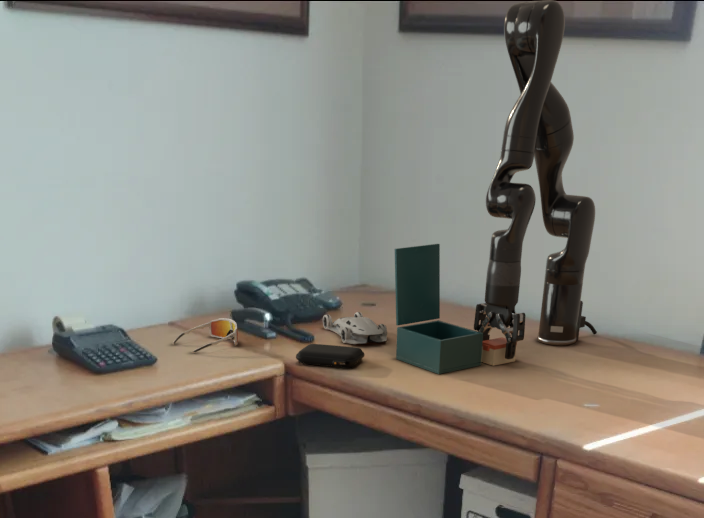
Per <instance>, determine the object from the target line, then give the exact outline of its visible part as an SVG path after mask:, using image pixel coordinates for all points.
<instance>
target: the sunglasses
mask: <svg viewBox="0 0 704 518" xmlns="http://www.w3.org/2000/svg"><path fill="white" fill-rule="evenodd" d="M205 328H208V330H209V335H210V337H212V338H217V339H218V340H215V341H211V342H208V343H206V344H204V345H201V346H199V347H197V348H195V349H194V350H192V351H191V353H192V354H195V353H198V352H200V351H202V350H204V349H206V348H208V347H211V346H216V345H219V344H220V343H222V342H224V341H226V340H227V341H228V340H233V342H234V346H238V341H239V332H238V331H239V330H238V324H237V322H236V321H235V320H234V319H231V318H228V317H227V318H226V317H221V318H220V317H219V318H217V319H213V320H209V321H208V322H206V323H203V324H200V325H197V326H195V327H193V328H189V329H187V330H185V331H183V332H181V333H180V334H179V335H178V336H176V338H175V339H174V340H173V341H172V345H175V344H176V343H177V342H178V341H179V339H181V338H182V337H183V336H185V335H189V334H190V333H192V332H193V331H196V330H203V329H205Z"/></svg>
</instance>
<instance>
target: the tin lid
mask: <svg viewBox="0 0 704 518" xmlns="http://www.w3.org/2000/svg"><path fill="white" fill-rule="evenodd" d="M440 246H441V244H440V243H432V244H424V245H423V244H422V245H414V246H407V247H398V248H394V280H395V281H394V283H395V285H394V286H395V287H394V288H395V325H396V326H405V325H411V324H417V323H423V322H429V321H435V320H439V319H440V318H441V307H440V306H441V301H440V300H441V295H440V294H441V293H440V292H441V289H440V287H441V283H440V281H441V280H440V275H441V271H440V269H441V268H440V267H441V266H440V265H441V261H440V260H441V258H440V253H441V251H440V249H441V247H440Z"/></svg>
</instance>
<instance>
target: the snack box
mask: <svg viewBox="0 0 704 518" xmlns="http://www.w3.org/2000/svg"><path fill="white" fill-rule="evenodd" d="M506 343H507V340H506V337H497V338H491V339H490V338H489V340H485V341H483V344H482V357H481V363H484V364H485V365H486V364H487V365H490V366H493V367H494V366H499V365H503V364H508V363H512V362H516V357H517V356H516V355H517V349H516V350H515V356H514V358H513V359H505V350H506ZM517 345H518V342H517V343H516V348H517V347H518V346H517Z"/></svg>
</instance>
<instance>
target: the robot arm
mask: <svg viewBox="0 0 704 518" xmlns="http://www.w3.org/2000/svg"><path fill="white" fill-rule="evenodd" d="M565 28H566V16H565V11H564V8H563V6H562V5H561V3H560V2H558V1H557V0H532V1H521V2H516V3H514V4H512V5H511V6H510V7H509V8H508V10H507V11H506V14H505V17H504V22H503V37H504V42H505V46H506V47H505V48H506V50H507V55H508V56H509V57H508V58H509V60H510V64H511V67H512V70H513V73H514V77H515V79H516V83H517V87H518V90H519V94H520V95H519V97H518V98H517V99H516V101H515V102H514V105H513V107H512V108H511V110H510V112H509V114H508V116H507V118H506V121H505V125H504V130H503V135H502V142H501V147H500V148H501V151H500V156H499V160H498V163H497V165H496V168H495V170H494V174H493V176H492V178H491V181H490V183H489V186H488V187H487V191H486V195H485V207H486V210H487V213H488V215H489V216H491V217H493V218H498V219H507V220H511V221H510V222H511V223H510V225H509V226H508V228H505V229H498V230H495V231H494V232H493V233H492V234H491V236H490V243H489V255H488V256H489V257H488V264H487V269H486V277H485V278H486V279H485V288H484V289H485V290H484V302H482V303H477V304H476V305H475V313H474V321H473V330H474V331H477V332H481V333H483V341H485V340H490V338H491V337H490V336H491V335H490V332H492V329H494V328H496V329H497V330H501V333H502V334H503V335H504V338H506V340H507V343H506V350H505V359H513V358H514V356H515V350H516V351H517V347H516V346H517V345H516V343H517V344H518V342H521V341H524V339H525V330H526V329H525V328H526V313H525V312H517V311H516V305H517V304H518V303H519V296H520V287H521V286H520V285H521V275H522V255H523V245H524V240H525V235H526V233H527V230H528V226H529V224H530V221H531V218H532V216H533V212H534V210H535V207H536V200H537V199H536V193H535V190H534V187H532V185H531V184H528V183H523V182H511V181H512V179H513V177H514V176H515V174H517V173H519V172H524V171H528V170H530V169H532V166H533V164H534V163H535V164H534V165H535V169H536V174H537V180H538V187H539V197H540V205H541V206H540V207H541V215H542V222H543V225H544V228H545V231H546V232H547V234H549V235H550V236H552V237H556V238H557V237H558V238H563V239H567V240H566V244H565V247H564V248H563V249H561V250H560V251H557V252H553V253H550V254H549V255H547V257H546V261H545V271H544V280H543V281H544V282H543V290H542V299H541V308H540V316H539V324H538V325H539V327H538V334H537V342H539V343H541V344H544V345H551V346H570V345H573V344H575V343H576V342H578V341H579V336H580V330H581V329H582V328H585V326H586V327H587V328H588V329H589V330H590V331H591V333H592V334H593V336H595V335H597V333H598V331H597V330H596V329H595V327H594V326H593V324H592V323H591V322H589V321H587V320H586V319H587V317H586V316H584V315H582V313H583V305H584V302H583V300H582V294H583V293H582V292H583V284H584V278H585V277H584V276H585V269H586V263H587V260H588V258H589V254H590V250H591V244H592V238H593V232H594V228H595V221H596V205H595V201H594V200H593V199H592V198H591V197H589V196H585V195H577V194H576V195H575V194H567V193H566V192H565V187H564V184H563V171H564V168H565V166H566V164H567V161H568V159H569V156H570V154H571V152H572V149H573V145H574V139H575V134H574V128H573V122H572V117H571V111H570V108H569V105H568V103H567V102H566V100H565V98H564V96H562V94H561V92H560V91H559V90H558V89H557V87H556V86H555V85H554V83H553V82H552V80H553V76H554V73H555V69H556V65H557V62H558V58H559V54H560V52H561V48H562V44H563V40H564V35H565Z"/></svg>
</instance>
